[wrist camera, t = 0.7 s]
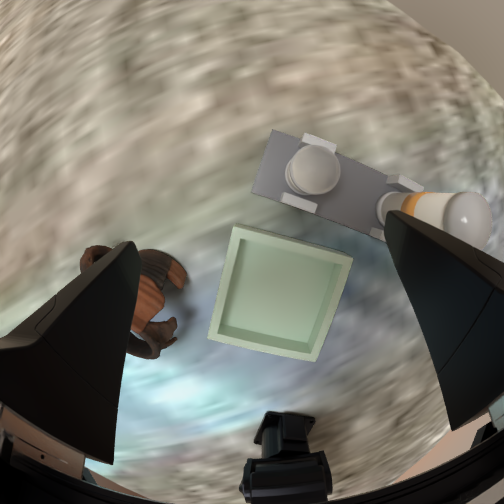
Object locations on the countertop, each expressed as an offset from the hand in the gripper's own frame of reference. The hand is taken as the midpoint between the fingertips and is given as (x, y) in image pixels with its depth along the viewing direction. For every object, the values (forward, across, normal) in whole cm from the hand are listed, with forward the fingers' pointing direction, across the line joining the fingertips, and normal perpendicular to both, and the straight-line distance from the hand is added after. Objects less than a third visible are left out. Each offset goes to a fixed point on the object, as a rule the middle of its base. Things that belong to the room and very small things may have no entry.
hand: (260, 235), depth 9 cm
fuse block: (+15, -8, +6) cm, 18 cm away
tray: (+11, -1, +14) cm, 18 cm away
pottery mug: (+12, +13, +13) cm, 22 cm away
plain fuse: (+15, -4, +4) cm, 16 cm away
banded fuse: (+13, -12, +8) cm, 20 cm away
